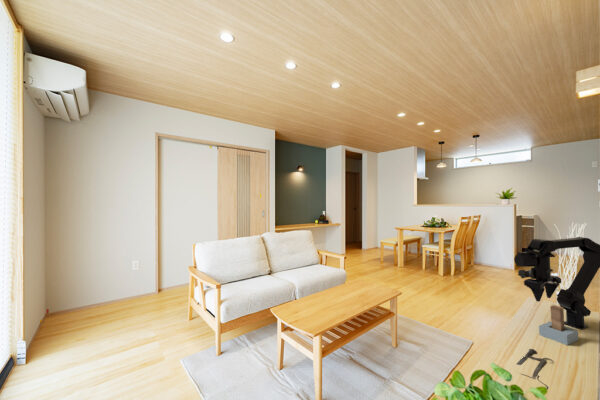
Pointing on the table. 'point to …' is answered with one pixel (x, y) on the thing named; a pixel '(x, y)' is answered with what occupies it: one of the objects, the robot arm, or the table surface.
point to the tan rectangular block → (557, 318)
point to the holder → (558, 334)
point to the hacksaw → (538, 368)
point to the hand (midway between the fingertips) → (543, 299)
